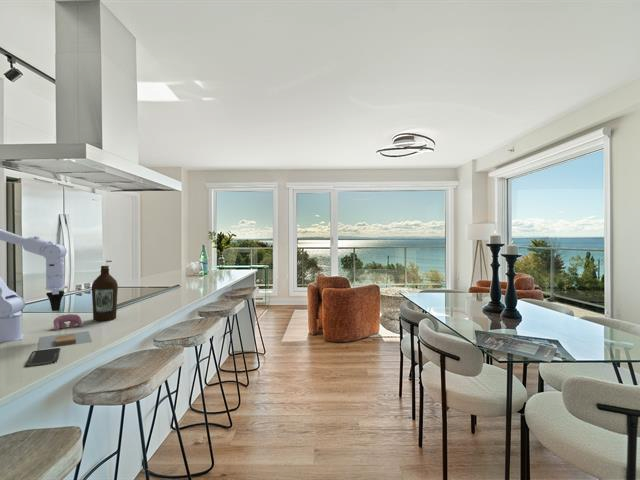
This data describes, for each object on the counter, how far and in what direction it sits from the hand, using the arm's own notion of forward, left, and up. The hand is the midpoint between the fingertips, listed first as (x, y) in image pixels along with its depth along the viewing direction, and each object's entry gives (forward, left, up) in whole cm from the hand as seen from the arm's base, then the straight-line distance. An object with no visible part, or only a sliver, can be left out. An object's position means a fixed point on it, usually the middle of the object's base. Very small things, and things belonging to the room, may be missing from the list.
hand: (55, 310), depth 142 cm
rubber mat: (+7, +3, -10) cm, 13 cm away
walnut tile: (+7, +3, -9) cm, 12 cm away
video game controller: (-14, +4, -11) cm, 18 cm away
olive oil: (-24, +19, -11) cm, 32 cm away
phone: (+26, -3, -11) cm, 28 cm away
